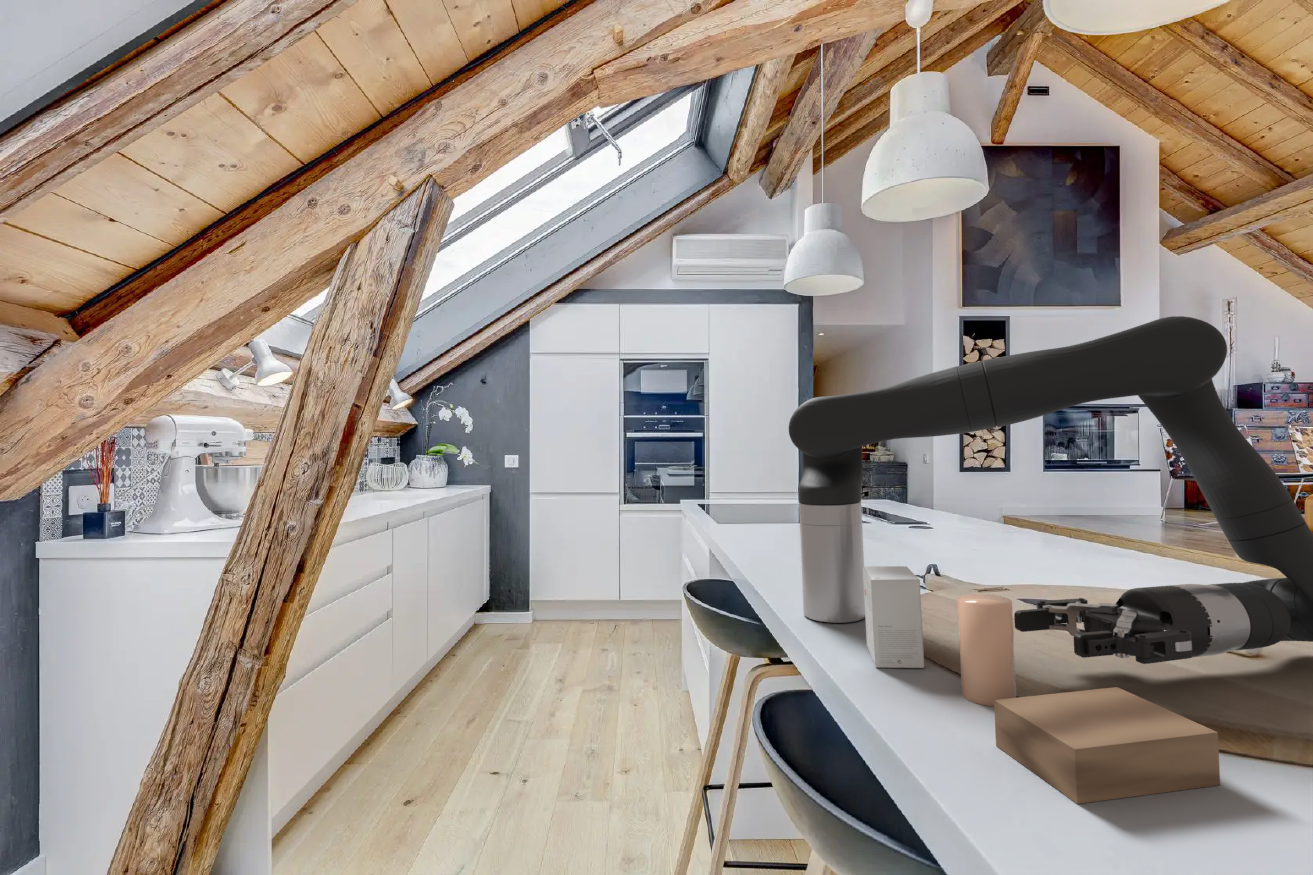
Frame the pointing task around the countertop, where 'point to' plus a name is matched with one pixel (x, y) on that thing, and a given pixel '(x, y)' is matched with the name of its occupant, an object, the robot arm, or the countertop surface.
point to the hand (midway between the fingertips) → (1044, 632)
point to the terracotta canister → (986, 648)
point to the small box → (893, 617)
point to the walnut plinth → (1106, 744)
